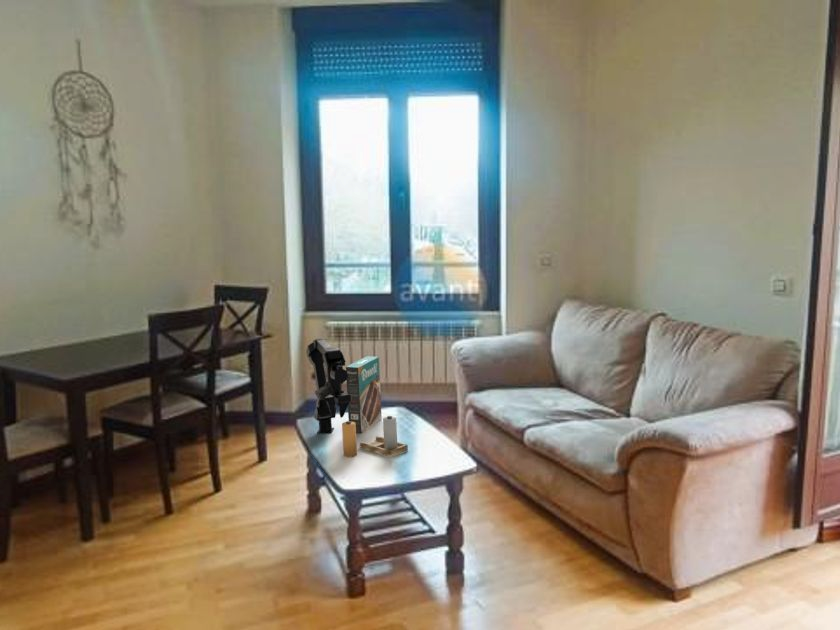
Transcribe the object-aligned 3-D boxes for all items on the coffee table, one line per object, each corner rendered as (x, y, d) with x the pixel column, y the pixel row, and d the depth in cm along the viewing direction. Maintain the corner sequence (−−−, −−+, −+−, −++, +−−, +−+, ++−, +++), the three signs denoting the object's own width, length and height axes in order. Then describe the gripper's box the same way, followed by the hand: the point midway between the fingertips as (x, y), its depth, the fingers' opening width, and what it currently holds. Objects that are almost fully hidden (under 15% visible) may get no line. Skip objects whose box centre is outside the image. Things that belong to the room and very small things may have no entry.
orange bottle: (345, 452, 279) (343, 419, 276) (358, 452, 278) (356, 419, 276) (342, 456, 273) (340, 423, 271) (355, 456, 273) (354, 423, 271)
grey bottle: (385, 446, 280) (383, 414, 278) (398, 446, 280) (396, 414, 277) (383, 451, 275) (381, 418, 273) (396, 451, 274) (395, 418, 272)
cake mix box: (361, 433, 301) (358, 367, 296) (349, 432, 303) (345, 366, 298) (381, 418, 321) (378, 356, 316) (370, 417, 323) (367, 356, 318)
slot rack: (359, 448, 283) (359, 442, 282) (377, 441, 290) (377, 435, 290) (390, 457, 271) (390, 451, 270) (407, 450, 278) (407, 444, 277)
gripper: (307, 379, 289) (310, 414, 290) (326, 385, 273) (328, 423, 275) (331, 375, 295) (333, 410, 296) (350, 380, 279) (353, 418, 280)
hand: (336, 415), depth 287 cm, fingers open, 9 cm apart
